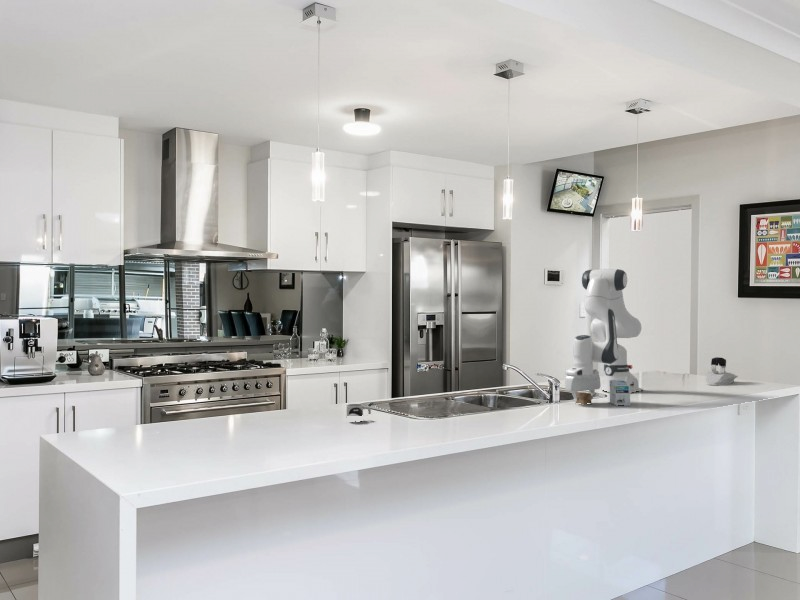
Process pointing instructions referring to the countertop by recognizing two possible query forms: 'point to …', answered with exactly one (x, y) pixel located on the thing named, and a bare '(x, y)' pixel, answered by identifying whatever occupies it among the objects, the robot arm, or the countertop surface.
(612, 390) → the light bulb box
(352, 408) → the mug
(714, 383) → the iron
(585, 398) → the walnut cube
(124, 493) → the countertop surface
